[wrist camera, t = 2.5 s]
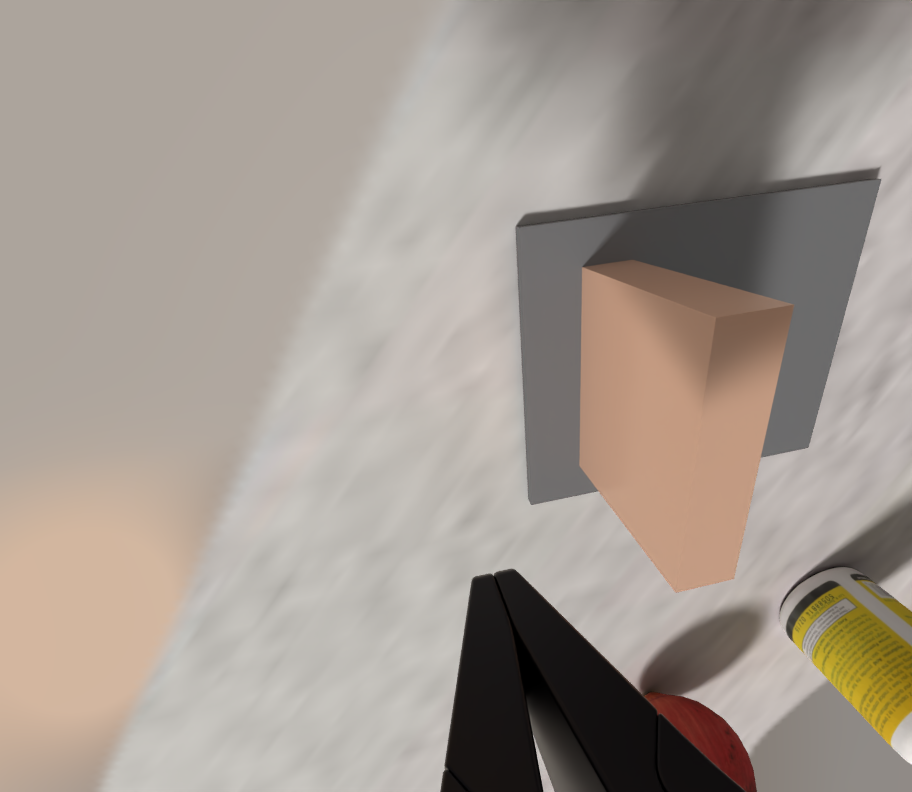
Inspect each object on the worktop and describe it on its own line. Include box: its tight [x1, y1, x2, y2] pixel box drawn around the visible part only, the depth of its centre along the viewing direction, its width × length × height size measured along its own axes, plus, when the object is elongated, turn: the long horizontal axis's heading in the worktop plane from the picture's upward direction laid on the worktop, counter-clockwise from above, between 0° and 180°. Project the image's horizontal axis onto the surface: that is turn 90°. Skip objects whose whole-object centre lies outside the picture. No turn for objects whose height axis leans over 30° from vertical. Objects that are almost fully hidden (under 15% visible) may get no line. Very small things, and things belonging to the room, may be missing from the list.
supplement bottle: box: [779, 567, 912, 764], centre depth 22 cm, size 5×5×10 cm
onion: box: [644, 692, 757, 792], centre depth 24 cm, size 6×6×8 cm
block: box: [579, 260, 794, 593], centre depth 14 cm, size 2×8×6 cm, turn 6°
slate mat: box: [516, 179, 881, 505], centre depth 18 cm, size 13×11×1 cm
